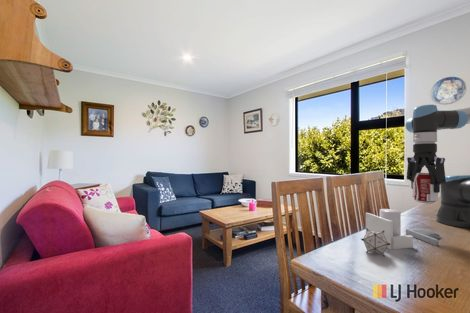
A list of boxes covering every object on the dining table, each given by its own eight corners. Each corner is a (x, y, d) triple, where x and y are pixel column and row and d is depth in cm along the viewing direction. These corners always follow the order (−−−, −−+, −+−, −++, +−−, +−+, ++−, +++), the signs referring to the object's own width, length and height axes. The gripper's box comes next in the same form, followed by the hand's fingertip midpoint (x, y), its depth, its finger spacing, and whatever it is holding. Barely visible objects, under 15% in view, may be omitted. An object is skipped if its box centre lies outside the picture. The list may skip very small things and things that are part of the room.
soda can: (440, 204, 87) (440, 174, 87) (420, 203, 89) (420, 174, 89) (428, 200, 94) (428, 172, 94) (410, 200, 95) (410, 172, 95)
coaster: (423, 230, 97) (423, 229, 97) (446, 238, 88) (446, 236, 88) (405, 232, 95) (405, 230, 95) (426, 239, 86) (426, 238, 86)
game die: (378, 267, 74) (378, 250, 68) (355, 249, 81) (354, 232, 75) (396, 251, 76) (397, 233, 70) (372, 234, 83) (372, 217, 77)
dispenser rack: (408, 233, 93) (408, 205, 93) (438, 245, 81) (438, 212, 81) (365, 237, 90) (365, 207, 90) (390, 249, 78) (390, 216, 78)
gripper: (395, 144, 100) (396, 194, 100) (442, 141, 81) (442, 204, 81) (410, 144, 101) (410, 194, 102) (459, 141, 82) (459, 203, 82)
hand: (424, 198), depth 91 cm, fingers closed on soda can, 7 cm apart
